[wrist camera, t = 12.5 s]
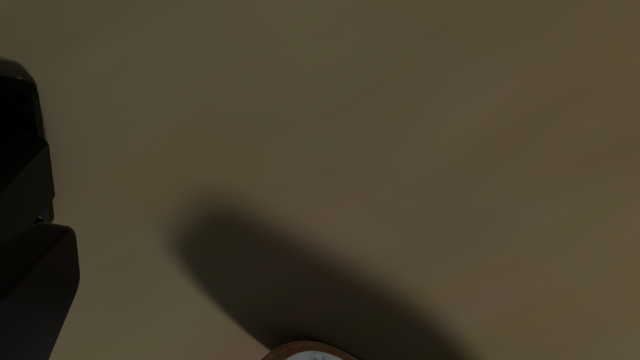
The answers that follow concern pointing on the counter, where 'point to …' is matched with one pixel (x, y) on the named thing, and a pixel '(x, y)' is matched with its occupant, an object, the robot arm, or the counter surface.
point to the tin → (307, 352)
